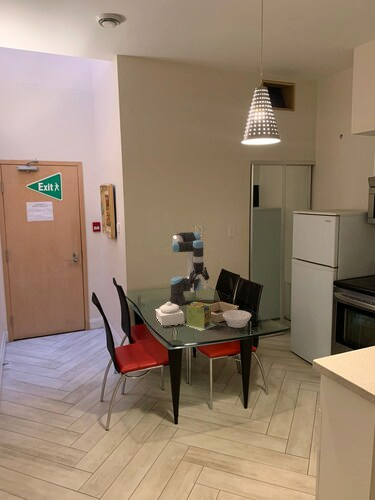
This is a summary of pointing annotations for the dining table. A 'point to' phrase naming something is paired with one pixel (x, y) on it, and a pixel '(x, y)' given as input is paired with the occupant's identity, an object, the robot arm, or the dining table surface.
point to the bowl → (236, 318)
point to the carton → (222, 307)
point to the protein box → (199, 314)
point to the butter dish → (170, 314)
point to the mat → (200, 328)
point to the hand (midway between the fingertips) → (198, 290)
